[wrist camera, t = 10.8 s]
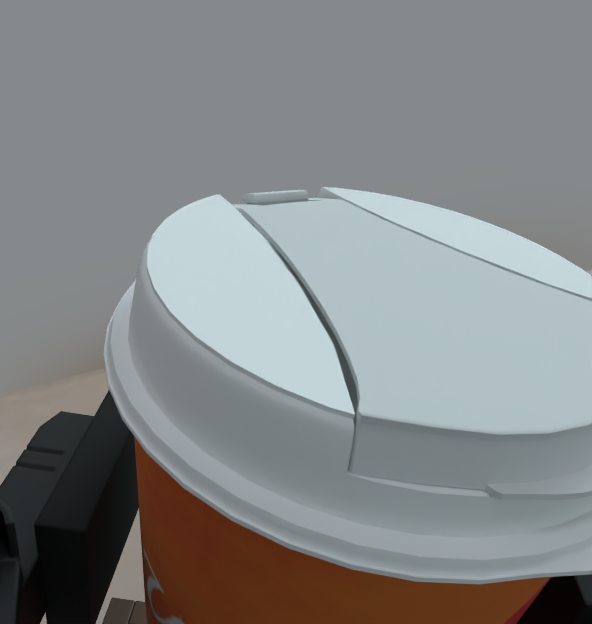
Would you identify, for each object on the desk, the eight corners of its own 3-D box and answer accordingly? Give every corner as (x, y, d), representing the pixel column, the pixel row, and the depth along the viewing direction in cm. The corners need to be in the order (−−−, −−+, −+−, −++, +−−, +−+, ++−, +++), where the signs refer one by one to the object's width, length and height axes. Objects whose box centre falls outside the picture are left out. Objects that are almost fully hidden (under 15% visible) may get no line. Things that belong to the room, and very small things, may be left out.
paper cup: (73, 684, 15) (27, 186, 8) (301, 562, 19) (401, 167, 12) (204, 1094, 10) (393, 696, 3) (476, 805, 14) (818, 360, 7)
